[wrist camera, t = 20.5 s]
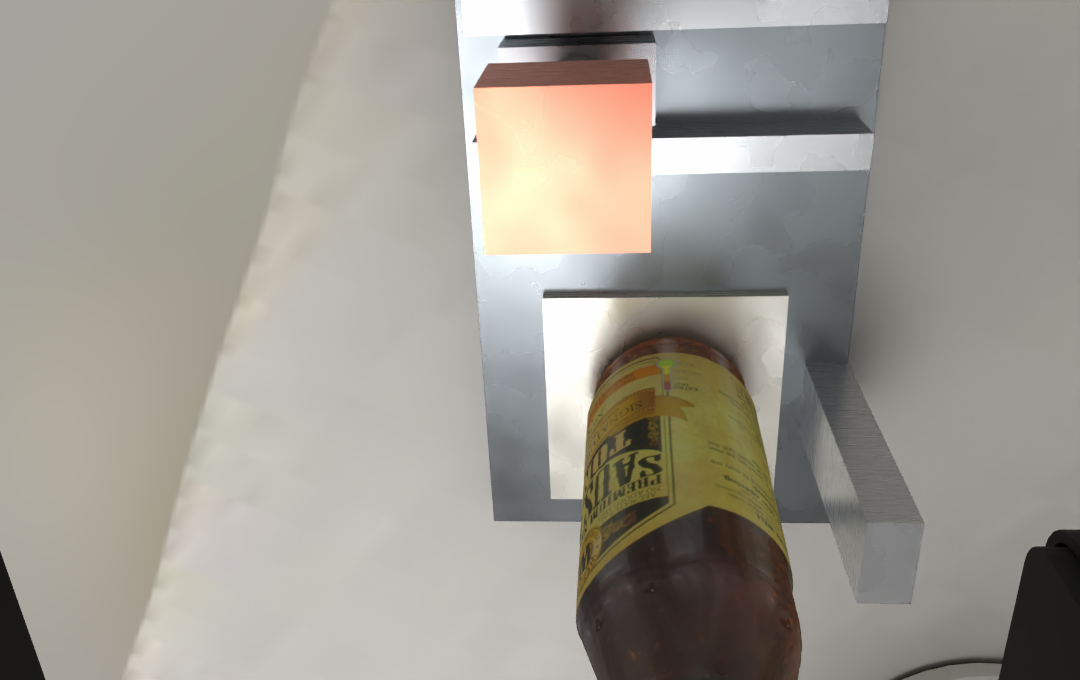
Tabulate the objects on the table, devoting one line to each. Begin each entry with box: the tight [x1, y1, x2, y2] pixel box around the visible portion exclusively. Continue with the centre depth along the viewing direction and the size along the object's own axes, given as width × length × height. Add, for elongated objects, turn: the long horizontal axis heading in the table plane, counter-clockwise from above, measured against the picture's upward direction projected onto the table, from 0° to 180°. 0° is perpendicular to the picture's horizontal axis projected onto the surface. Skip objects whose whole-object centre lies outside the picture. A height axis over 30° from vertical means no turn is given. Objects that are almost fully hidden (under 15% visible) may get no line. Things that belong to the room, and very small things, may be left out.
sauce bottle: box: [576, 336, 802, 680], centre depth 29 cm, size 7×6×20 cm
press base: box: [455, 0, 924, 604], centre depth 32 cm, size 22×14×12 cm, turn 2°
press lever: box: [473, 35, 656, 255], centre depth 27 cm, size 4×5×11 cm
